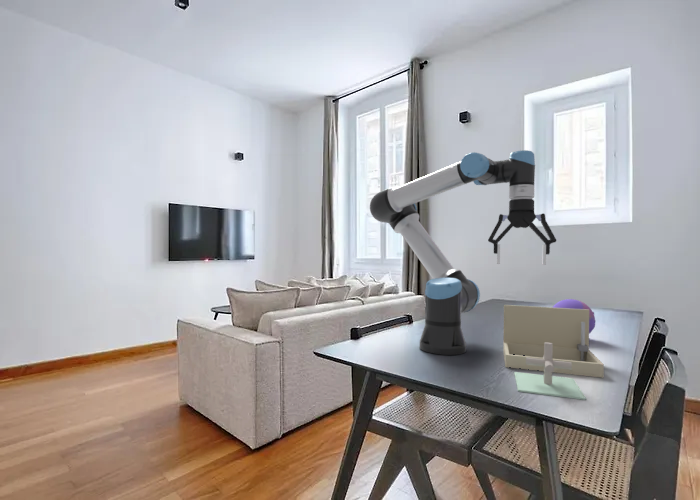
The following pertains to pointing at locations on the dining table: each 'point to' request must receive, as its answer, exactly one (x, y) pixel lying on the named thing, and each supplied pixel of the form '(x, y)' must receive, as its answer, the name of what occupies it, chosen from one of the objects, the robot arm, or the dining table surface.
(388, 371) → the dining table surface
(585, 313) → the case
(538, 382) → the mat
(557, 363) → the pipe connector
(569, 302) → the decorative ball
